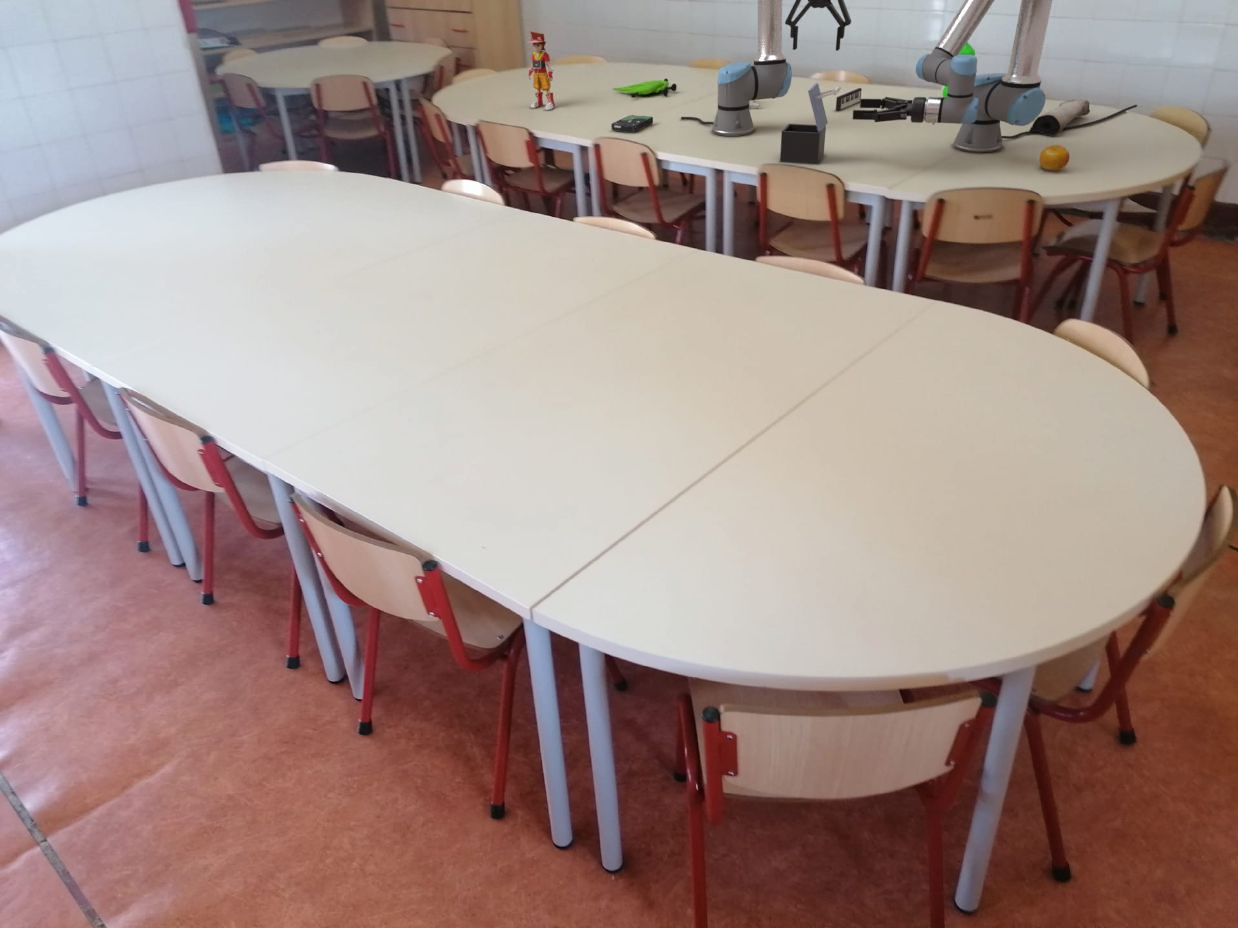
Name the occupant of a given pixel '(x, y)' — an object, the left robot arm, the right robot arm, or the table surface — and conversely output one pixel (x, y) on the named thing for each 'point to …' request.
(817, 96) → the lid
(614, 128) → the disk drive
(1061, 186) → the table surface
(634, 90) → the toy
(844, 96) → the midi keyboard
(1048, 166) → the fruit
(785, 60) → the left robot arm
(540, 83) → the toy
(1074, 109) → the rolled mat
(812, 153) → the chest
